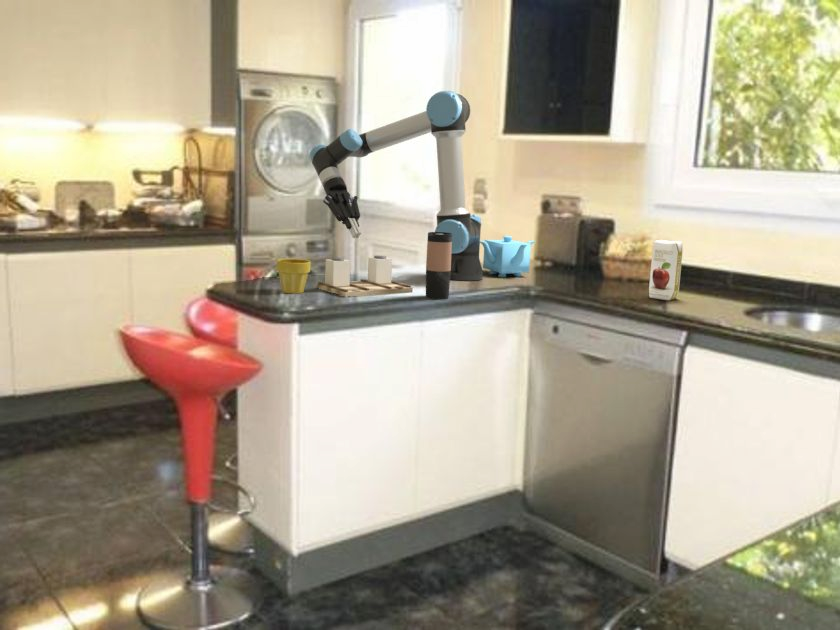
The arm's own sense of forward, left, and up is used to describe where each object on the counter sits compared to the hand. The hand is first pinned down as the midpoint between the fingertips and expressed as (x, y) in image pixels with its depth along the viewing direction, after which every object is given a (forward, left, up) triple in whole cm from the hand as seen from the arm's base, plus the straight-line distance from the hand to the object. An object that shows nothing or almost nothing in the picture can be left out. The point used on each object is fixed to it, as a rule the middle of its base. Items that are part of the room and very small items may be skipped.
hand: (357, 235), depth 283 cm
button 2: (-5, +14, -14) cm, 20 cm away
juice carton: (-96, +39, -16) cm, 104 cm away
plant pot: (+24, +22, -16) cm, 36 cm away
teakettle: (-61, -12, -16) cm, 64 cm away
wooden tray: (+1, +20, -16) cm, 25 cm away
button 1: (+10, +19, -14) cm, 26 cm away
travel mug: (-19, +34, -16) cm, 42 cm away
